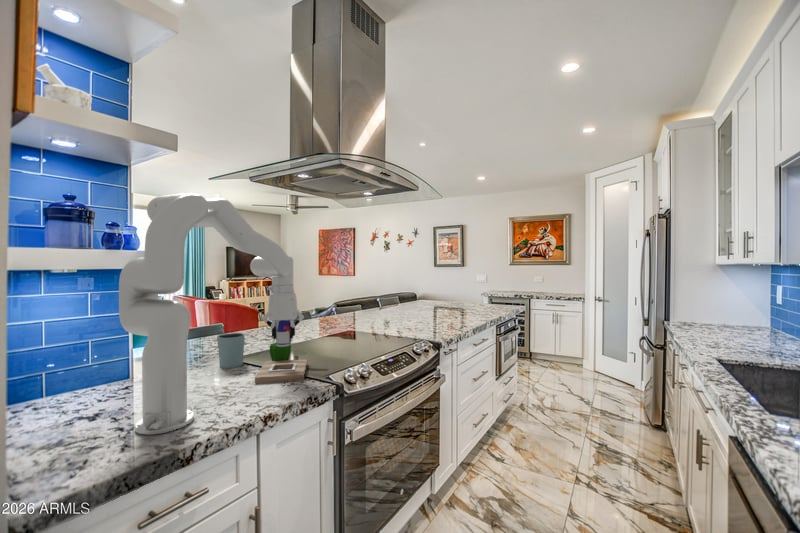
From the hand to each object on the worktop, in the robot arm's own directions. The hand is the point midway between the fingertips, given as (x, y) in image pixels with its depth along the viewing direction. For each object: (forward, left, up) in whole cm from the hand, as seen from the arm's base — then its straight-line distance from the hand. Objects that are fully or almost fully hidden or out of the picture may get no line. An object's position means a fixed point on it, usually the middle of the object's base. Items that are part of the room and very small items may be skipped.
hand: (283, 337), depth 133 cm
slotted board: (0, 0, -13) cm, 13 cm away
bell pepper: (+15, +3, -13) cm, 20 cm away
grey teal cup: (+15, +22, -13) cm, 30 cm away
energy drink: (0, 0, -3) cm, 3 cm away
